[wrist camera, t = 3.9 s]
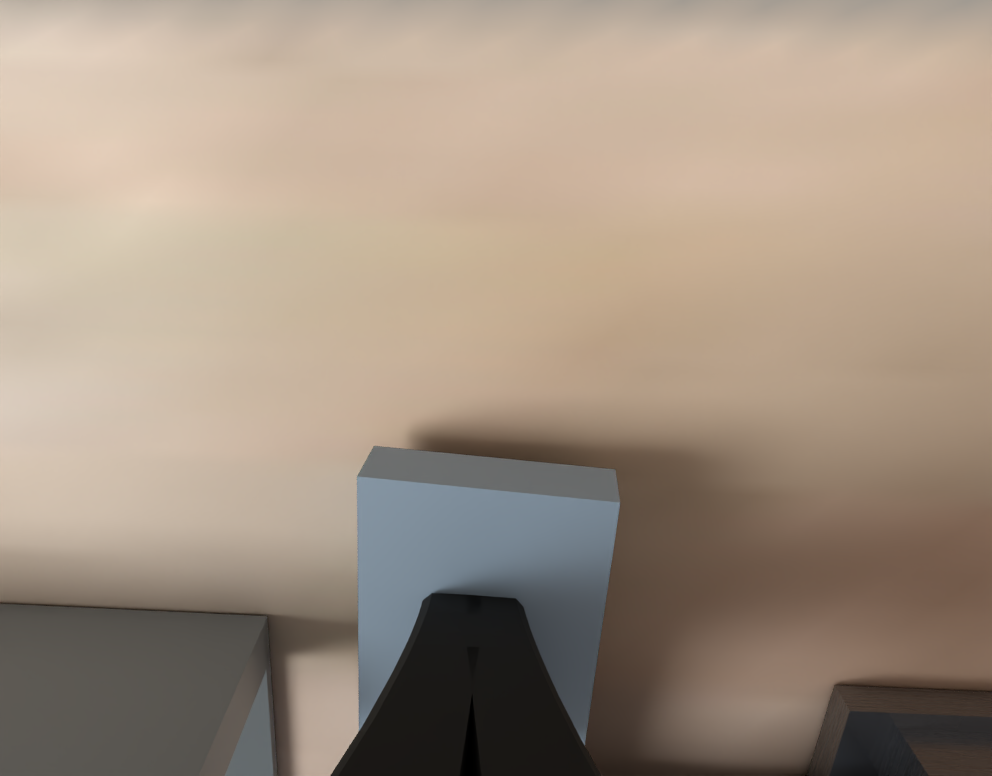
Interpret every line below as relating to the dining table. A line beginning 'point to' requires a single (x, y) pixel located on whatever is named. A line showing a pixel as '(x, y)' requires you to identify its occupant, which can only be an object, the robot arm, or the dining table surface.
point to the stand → (904, 733)
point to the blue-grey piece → (485, 556)
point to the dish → (134, 693)
